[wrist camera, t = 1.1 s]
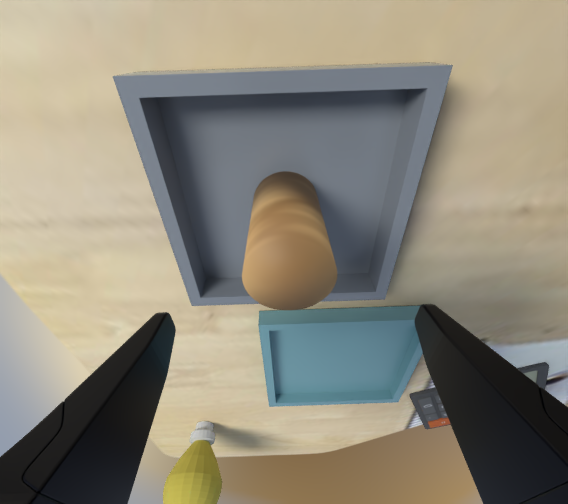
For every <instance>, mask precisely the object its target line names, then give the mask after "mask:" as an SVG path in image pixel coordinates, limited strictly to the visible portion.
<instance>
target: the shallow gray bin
mask: <svg viewBox="0 0 568 504" xmlns="http://www.w3.org/2000/svg"><path fill="white" fill-rule="evenodd" d="M452 66H453V65H448V64H439V63H429V62H423V63H393V64H362V65H332V66H302V67H271V68H241V69H211V70H180V71H150V72H133V73H127V74H122V75H117V76H113V79H114V82H115V84H116V87H117V90H118V93H119V96H120V99H121V102H122V105H123V108H124V111H125V113H126V116H127V119H128V122H129V125H130V128H131V131H132V134H133V137H134V140H135V142H136V145H137V148H138V151H139V154H140V157H141V160H142V163H143V166H144V169H145V171H146V174H147V177H148V180H149V183H150V186H151V189H152V192H153V195H154V198H155V200H156V203H157V206H158V209H159V212H160V215H161V218H162V221H163V224H164V227H165V229H166V232H167V235H168V238H169V241H170V244H171V247H172V250H173V253H174V256H175V258H176V261H177V264H178V267H179V270H180V273H181V276H182V279H183V282H184V285H185V287H186V290H187V293H188V296H189V299H190V302H191V305H192V306H203V305H233V304H260V303H258V302H257V301H256V300H254V299H253V298H252V297H251V296H250V295H249V294H248V293H247V291H246V289H245V287H244V285H243V281H242V271H243V264H244V258H245V251H246V244H247V238H248V231H249V225H250V218H251V212H252V205H253V199H254V194H255V191H256V188H257V187H258V185H259V184H260V183H261V181H262V180H264V179H265V178H266V177H268V176H269V175H271V174H274V173H277V172H283V171H289V172H295V173H298V174H300V175H302V176H304V177H306V178H307V179H308V180H309V181H310V182H311V183H312V185H313V186H314V188H315V190H316V193H317V197H318V201H319V204H320V208H321V212H322V215H323V219H324V223H325V226H326V230H327V234H328V238H329V241H330V245H331V249H332V252H333V256H334V260H335V264H336V267H337V280H336V284H335V286H334V288H333V290H332V291H331V292H330V294H329V295H328V296H327V297H326V298H324V299H323V300H322V301H351V300H381V299H385V297H386V294H387V290H388V287H389V283H390V280H391V276H392V273H393V270H394V266H395V263H396V259H397V256H398V252H399V249H400V245H401V242H402V238H403V235H404V232H405V228H406V225H407V221H408V218H409V214H410V211H411V207H412V204H413V201H414V197H415V194H416V190H417V187H418V183H419V180H420V176H421V173H422V169H423V166H424V163H425V159H426V156H427V152H428V149H429V145H430V142H431V138H432V135H433V132H434V128H435V125H436V121H437V118H438V114H439V111H440V107H441V104H442V101H443V97H444V94H445V90H446V87H447V83H448V80H449V76H450V73H451V69H452ZM320 302H321V301H320Z"/></svg>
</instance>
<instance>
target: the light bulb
mask: <svg viewBox="0 0 568 504" xmlns="http://www.w3.org/2000/svg"><path fill="white" fill-rule="evenodd" d="M213 427H214V425H213V423H211V422H207V421H201V422H198V423H197V424H196V429H195V431H193V432H192V433H191V437H190V443H192V445H191V446H190V447H189V448H188V449H187V451H186V452H185V453H184V454H183V455H182V456H181V458H180V459H179V460H178V462H177V463H176V465H175V466H174V468H173V470H172V471H171V473H170V474H169V476H168V477H167V480H166V482H165V486H164V491H163V503H164V504H217V501H218V499H219V496H220V493H221V488H222V479H221V476H220V471H219V468H218V463H217V460H216V458H215V455H214V453H213V450H212V448H211V445H212V444H213V443H214V440H215V433H214V432H213Z"/></svg>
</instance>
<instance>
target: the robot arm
mask: <svg viewBox="0 0 568 504" xmlns="http://www.w3.org/2000/svg"><path fill="white" fill-rule="evenodd" d="M414 323H415V328H416V331H417V335H418V338H419V341H420V345H421V348H422V352H423V355H424V359H425V362H426V365H427V368H428V370H429V373H430V375H431V378H432V380H433V383H434V385H435V387H436V390H437V392H438V395H439V397H440V400H441V402H442V404H443V407H444V409H445V412H446V414H447V417H448V419H449V421H450V424H451V426H452V429H453V431H454V434H455V436H456V438H457V441H458V443H459V446H460V448H461V450H462V453H463V455H464V458H465V460H466V463H467V465H468V467H469V470H470V472H471V475H472V477H473V480H474V482H475V484H476V487H477V489H478V492H479V494H480V497H481V499H482V501H483V504H568V407H567V406H565V405H564V404H563V403H561V402H560V401H559V400H557V399H556V398H555V397H553V396H552V395H551V394H550V393H548V392H547V391H546V390H544V389H543V388H542V387H539V385H538V384H536V383H535V382H534V381H533V380H531V379H530V378H529V377H527V376H526V375H525V374H523V373H522V372H521V371H520V370H518V369H517V368H516V367H514V366H513V365H512V364H510V363H509V362H508V361H507V360H505V359H504V358H503V357H501V356H500V355H499V354H498V353H496V352H495V351H494V350H492V349H491V348H490V347H488V346H487V345H486V344H485V343H483V342H482V341H481V340H479V339H478V338H477V337H476V336H474V335H473V334H472V333H470V332H469V331H468V330H466V329H465V328H464V327H463V326H461V325H460V324H459V323H457V322H456V321H455V320H453V319H452V318H451V317H450V316H448V315H447V314H446V313H444V312H443V311H442V310H441V309H439V308H438V307H437V306H435V305H433V304H423V305H421V306H420V307H419V310H418V312H417V315H416V317H415V321H414ZM175 331H176V330H175V325H174V323H173V320H172V318H171V316H170V314H169V313H167V312H163V313H156V314H155V315H154V316H152V317H151V318H150V319H149V320H148V321H147V322H146V323H145V324H144V325H143V326H142V327H141V328H140V329H139V330H138V331H137V332H136V333H135V334H133V335H132V336H131V337H130V338H129V339H128V340H127V341H126V342H125V343H124V344H123V345H122V346H121V347H120V348H119V349H118V350H117V351H116V352H114V353H113V354H112V355H111V356H110V357H109V358H108V359H107V360H106V361H105V362H104V363H103V364H102V365H101V366H100V367H99V368H98V369H96V370H95V371H94V372H93V373H92V374H91V375H90V376H89V377H88V378H87V379H86V380H85V381H84V382H83V383H82V384H81V385H80V386H79V387H78V388H76V389H75V390H74V391H73V392H72V393H71V394H70V395H69V396H68V397H67V398H66V399H65V401H64V402H62V403H60V404H59V405H58V406H57V407H56V408H55V409H54V410H53V411H52V412H51V413H50V414H49V415H48V416H47V417H46V418H44V419H43V420H42V421H41V422H40V423H39V424H38V425H37V426H36V427H35V428H33V429H32V430H31V431H30V432H29V433H28V434H27V435H25V436H24V437H23V438H22V439H21V440H20V441H19V442H17V443H16V444H15V445H14V446H13V447H12V448H10V449H9V450H8V451H7V452H6V453H4V454H3V455H2V456H1V457H0V504H127V503H128V500H129V497H130V494H131V491H132V487H133V484H134V481H135V477H136V474H137V471H138V468H139V464H140V461H141V458H142V455H143V452H144V448H145V445H146V442H147V439H148V435H149V432H150V429H151V426H152V422H153V419H154V416H155V413H156V409H157V406H158V403H159V400H160V397H161V393H162V390H163V387H164V384H165V380H166V377H167V373H168V368H169V363H170V358H171V353H172V348H173V342H174V337H175Z"/></svg>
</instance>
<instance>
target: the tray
mask: <svg viewBox="0 0 568 504" xmlns="http://www.w3.org/2000/svg"><path fill="white" fill-rule="evenodd" d="M419 307H420V306H394V307H365V308H335V309H306V310H276V311H259V333H260V340H261V348H262V355H263V363H264V371H265V378H266V386H267V393H268V401H269V407H273V406H302V405H331V404H360V403H390V402H398V401H399V399H400V397H401V395H402V393H403V391H404V389H405V387H406V385H407V383H408V381H409V379H410V377H411V375H412V373H413V371H414V369H415V367H416V365H417V363H418V361H419V360H420V358H421V356H422V354H423V352H422V348H421V345H420V341H419V338H418V335H417V331H416V328H415V323H414V321H415V317H416V315H417V312H418V310H419Z"/></svg>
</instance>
